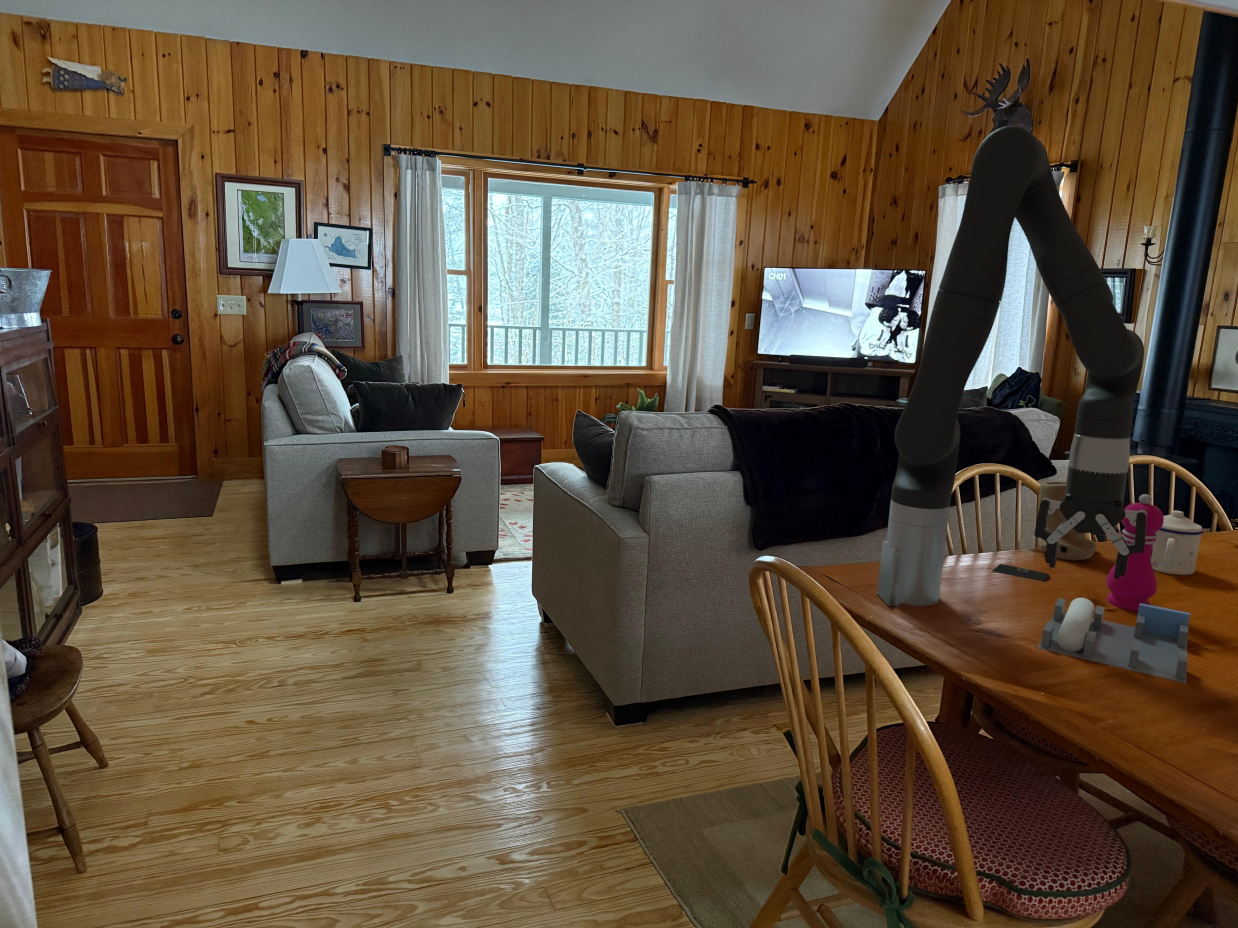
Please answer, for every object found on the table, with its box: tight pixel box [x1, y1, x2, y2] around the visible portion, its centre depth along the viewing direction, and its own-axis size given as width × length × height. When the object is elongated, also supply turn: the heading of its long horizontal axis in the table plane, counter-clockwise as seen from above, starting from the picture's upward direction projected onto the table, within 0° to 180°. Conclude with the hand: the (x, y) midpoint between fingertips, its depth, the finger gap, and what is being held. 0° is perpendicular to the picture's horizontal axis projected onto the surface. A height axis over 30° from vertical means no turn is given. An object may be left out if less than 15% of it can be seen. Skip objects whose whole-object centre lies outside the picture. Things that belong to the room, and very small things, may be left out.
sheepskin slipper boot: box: [1039, 480, 1097, 561], centre depth 172 cm, size 15×12×15 cm
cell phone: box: [991, 563, 1050, 583], centre depth 153 cm, size 9×18×1 cm, turn 141°
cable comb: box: [1037, 597, 1191, 684], centre depth 123 cm, size 19×18×5 cm
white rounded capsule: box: [1057, 597, 1096, 652], centre depth 126 cm, size 16×4×4 cm, turn 146°
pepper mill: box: [1106, 493, 1164, 611], centre depth 139 cm, size 7×7×20 cm
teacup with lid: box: [1151, 510, 1204, 576], centre depth 162 cm, size 12×9×12 cm
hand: (1084, 572), depth 125 cm, fingers open, 8 cm apart
